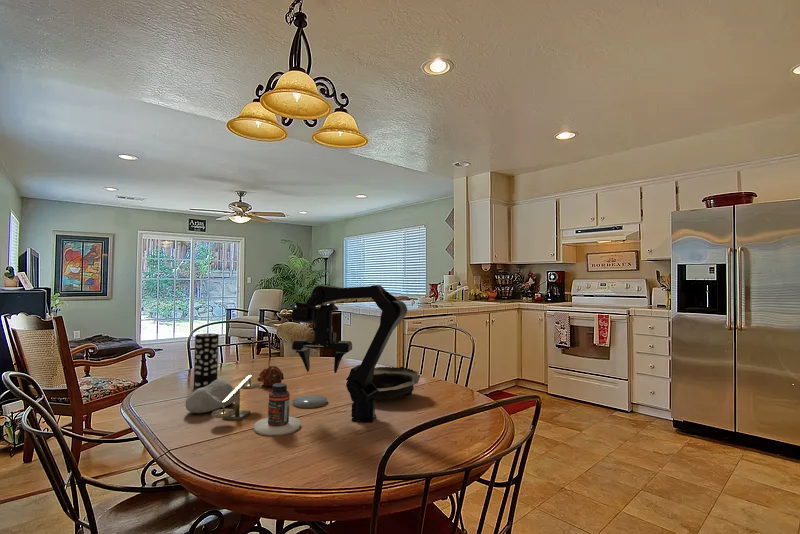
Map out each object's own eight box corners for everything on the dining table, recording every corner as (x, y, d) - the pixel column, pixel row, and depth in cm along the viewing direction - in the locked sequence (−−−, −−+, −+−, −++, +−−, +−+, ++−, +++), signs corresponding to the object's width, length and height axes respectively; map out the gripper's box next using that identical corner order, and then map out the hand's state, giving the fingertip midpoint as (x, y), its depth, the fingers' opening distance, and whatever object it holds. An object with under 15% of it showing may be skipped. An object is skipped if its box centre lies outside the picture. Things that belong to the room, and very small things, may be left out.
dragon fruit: (279, 393, 161) (260, 392, 168) (292, 376, 167) (274, 376, 174) (267, 377, 158) (248, 377, 165) (281, 361, 164) (262, 361, 171)
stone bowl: (421, 388, 166) (422, 365, 165) (417, 413, 141) (418, 386, 141) (360, 384, 168) (361, 362, 168) (346, 408, 144) (347, 382, 143)
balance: (262, 406, 140) (263, 373, 140) (227, 430, 118) (228, 391, 118) (245, 405, 140) (245, 372, 141) (206, 428, 119) (207, 389, 119)
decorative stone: (218, 391, 147) (229, 370, 144) (236, 410, 144) (248, 389, 141) (173, 409, 131) (185, 386, 128) (193, 431, 128) (205, 408, 125)
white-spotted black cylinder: (193, 384, 165) (195, 333, 165) (216, 382, 169) (218, 333, 169) (193, 389, 158) (195, 336, 158) (217, 387, 161) (218, 336, 161)
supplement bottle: (264, 426, 118) (265, 386, 119) (272, 419, 124) (273, 381, 125) (284, 427, 118) (285, 387, 118) (291, 420, 124) (292, 382, 124)
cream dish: (307, 421, 127) (307, 417, 127) (289, 437, 114) (290, 433, 114) (266, 418, 128) (266, 414, 128) (245, 433, 116) (245, 430, 116)
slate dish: (331, 398, 150) (331, 396, 150) (320, 409, 138) (320, 406, 138) (299, 396, 151) (299, 394, 152) (286, 406, 140) (286, 403, 140)
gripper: (356, 322, 142) (355, 368, 142) (304, 320, 145) (303, 365, 144) (348, 326, 131) (347, 375, 131) (291, 323, 134) (290, 372, 133)
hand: (321, 372), depth 135 cm, fingers open, 9 cm apart
